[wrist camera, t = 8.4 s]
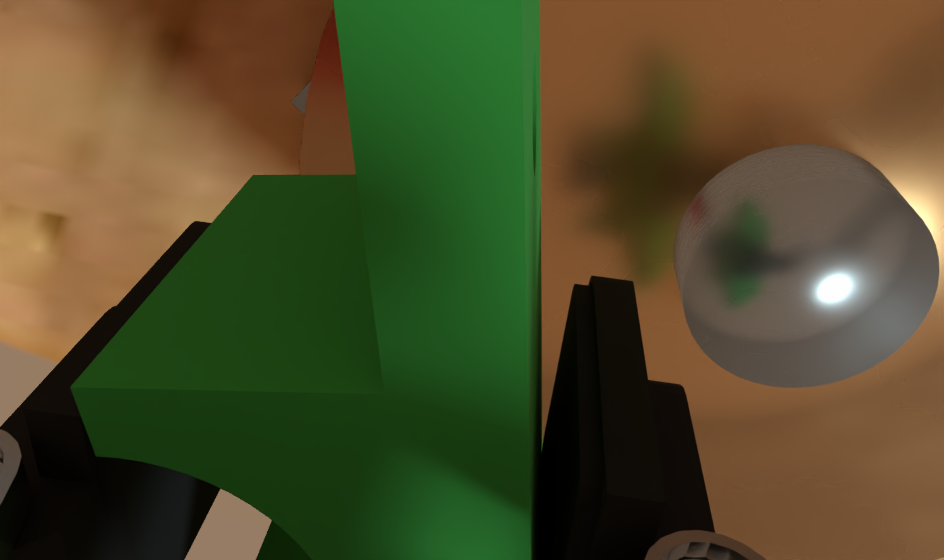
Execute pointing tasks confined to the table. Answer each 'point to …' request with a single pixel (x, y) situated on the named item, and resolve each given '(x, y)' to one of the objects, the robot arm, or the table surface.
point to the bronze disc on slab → (752, 243)
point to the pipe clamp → (366, 312)
